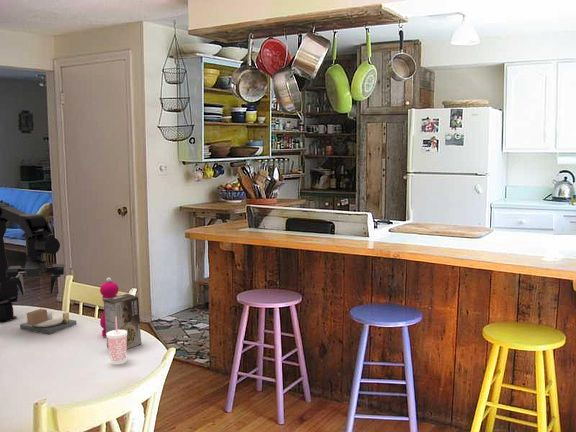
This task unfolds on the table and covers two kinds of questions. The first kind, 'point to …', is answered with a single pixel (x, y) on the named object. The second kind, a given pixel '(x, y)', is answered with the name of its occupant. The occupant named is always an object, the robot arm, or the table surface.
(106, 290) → the pepper mill
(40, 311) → the flange
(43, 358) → the table surface
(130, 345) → the coffee box
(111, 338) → the beverage cup
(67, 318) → the gold rounded piece
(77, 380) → the table surface
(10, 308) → the robot arm
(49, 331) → the base plate
